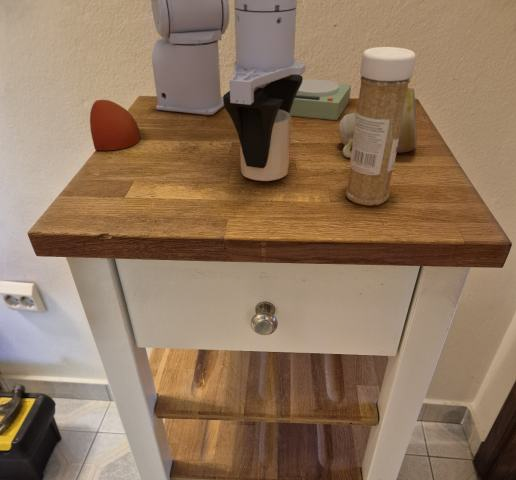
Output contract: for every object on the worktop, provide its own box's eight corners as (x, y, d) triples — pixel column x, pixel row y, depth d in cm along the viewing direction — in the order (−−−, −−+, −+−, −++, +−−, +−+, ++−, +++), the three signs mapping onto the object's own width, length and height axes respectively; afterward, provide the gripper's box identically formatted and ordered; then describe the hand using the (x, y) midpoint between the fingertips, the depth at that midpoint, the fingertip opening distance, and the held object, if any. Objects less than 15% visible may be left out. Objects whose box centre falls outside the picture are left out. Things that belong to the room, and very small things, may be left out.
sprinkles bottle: (397, 200, 49) (428, 51, 40) (365, 211, 47) (389, 58, 38) (367, 184, 52) (389, 42, 43) (335, 194, 50) (352, 49, 41)
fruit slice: (153, 121, 65) (130, 145, 67) (114, 80, 62) (92, 106, 64) (138, 144, 59) (114, 169, 61) (94, 100, 56) (71, 128, 58)
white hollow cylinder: (234, 177, 52) (231, 120, 48) (249, 159, 56) (249, 105, 52) (280, 183, 51) (282, 126, 47) (293, 165, 55) (296, 110, 51)
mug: (333, 137, 64) (380, 64, 58) (391, 180, 64) (443, 110, 58) (322, 141, 57) (374, 59, 52) (386, 188, 57) (445, 111, 52)
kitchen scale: (271, 114, 71) (271, 92, 69) (289, 96, 78) (290, 75, 76) (336, 120, 68) (339, 98, 66) (349, 101, 75) (351, 80, 73)
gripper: (285, 22, 37) (280, 187, 47) (324, -1, 47) (314, 138, 57) (203, 18, 39) (214, 178, 48) (258, -4, 49) (259, 132, 58)
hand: (264, 156), depth 53 cm, fingers closed on white hollow cylinder, 5 cm apart
